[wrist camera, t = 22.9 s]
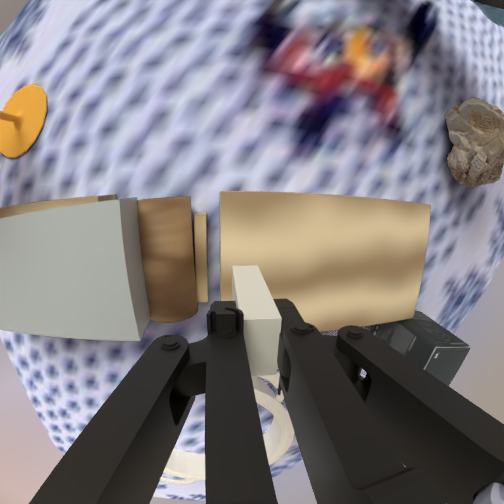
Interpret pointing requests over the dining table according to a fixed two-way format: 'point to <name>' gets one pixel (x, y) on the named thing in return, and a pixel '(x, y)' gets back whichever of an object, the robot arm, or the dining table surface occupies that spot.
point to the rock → (476, 142)
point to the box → (425, 345)
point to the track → (312, 251)
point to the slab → (74, 272)
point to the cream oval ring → (274, 437)
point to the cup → (22, 120)
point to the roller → (168, 257)
